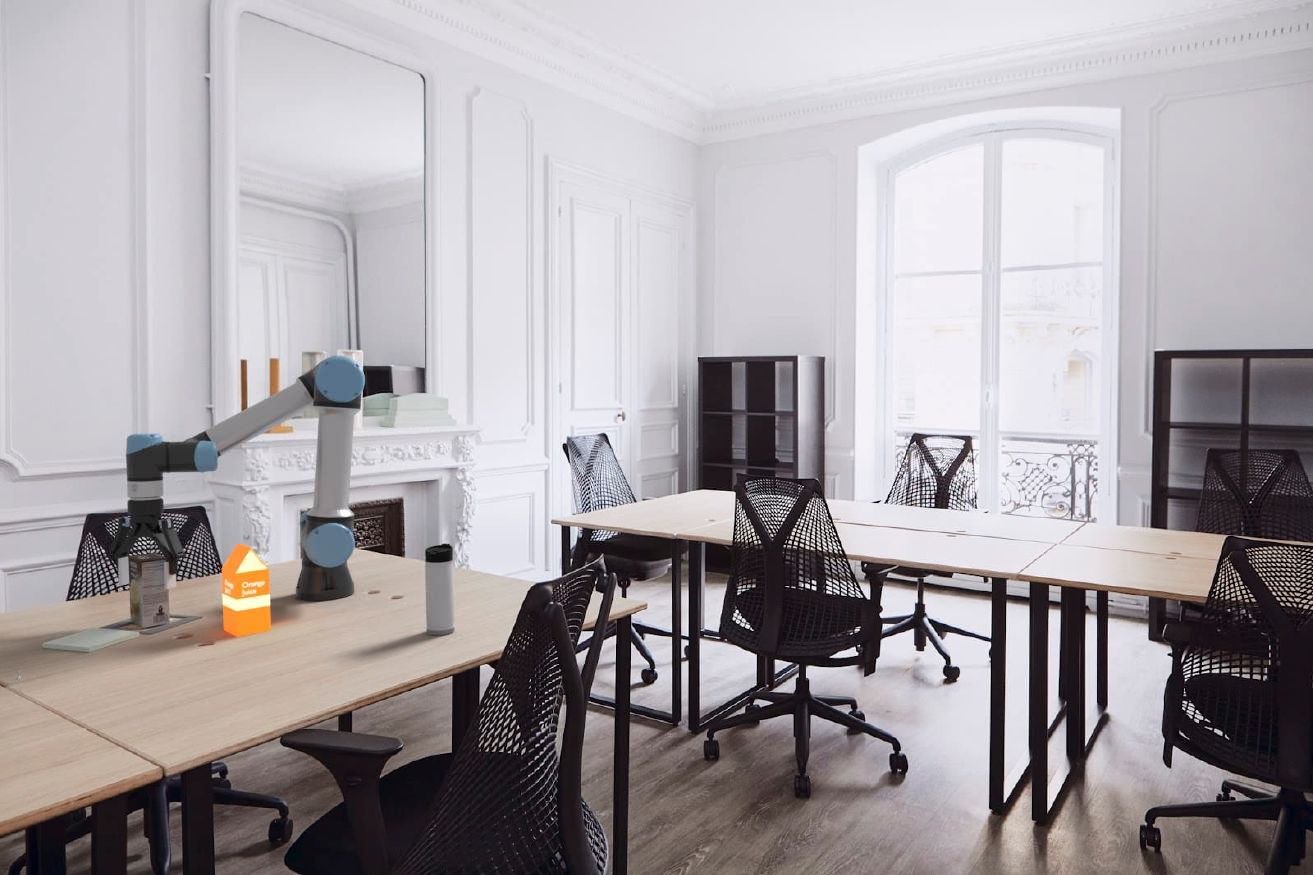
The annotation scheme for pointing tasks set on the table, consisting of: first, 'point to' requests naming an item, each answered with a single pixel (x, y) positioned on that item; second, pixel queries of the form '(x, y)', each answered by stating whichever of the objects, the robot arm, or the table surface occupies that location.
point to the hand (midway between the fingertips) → (147, 586)
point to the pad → (91, 640)
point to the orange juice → (245, 593)
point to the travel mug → (439, 589)
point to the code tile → (153, 630)
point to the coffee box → (148, 590)
